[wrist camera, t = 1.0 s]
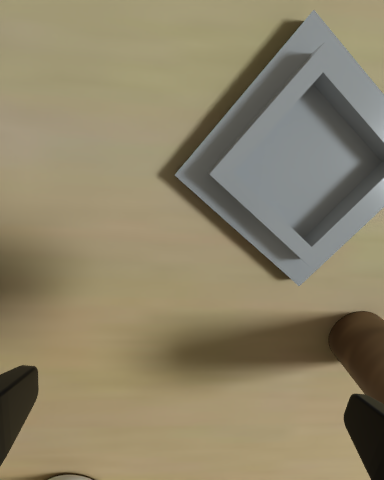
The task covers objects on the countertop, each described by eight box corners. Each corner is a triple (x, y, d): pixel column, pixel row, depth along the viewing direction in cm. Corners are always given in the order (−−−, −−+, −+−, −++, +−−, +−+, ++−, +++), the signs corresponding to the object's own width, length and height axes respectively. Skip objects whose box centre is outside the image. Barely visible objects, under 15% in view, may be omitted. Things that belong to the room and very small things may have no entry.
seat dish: (292, 279, 21) (308, 296, 18) (175, 174, 19) (173, 176, 16) (420, 158, 19) (460, 157, 16) (304, 20, 16) (328, -8, 14)
